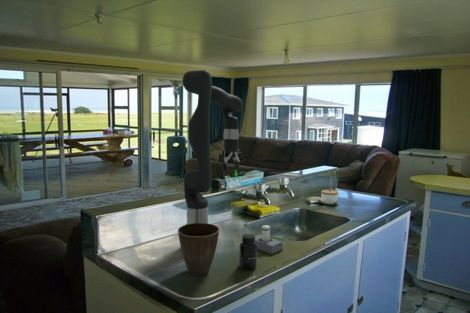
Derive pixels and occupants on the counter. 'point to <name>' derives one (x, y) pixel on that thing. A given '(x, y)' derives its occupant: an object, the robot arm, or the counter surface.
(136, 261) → the counter surface
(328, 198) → the lidded jar
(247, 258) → the supplement bottle
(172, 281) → the counter surface
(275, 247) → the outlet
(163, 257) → the counter surface
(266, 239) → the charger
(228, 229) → the counter surface
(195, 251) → the plant pot
